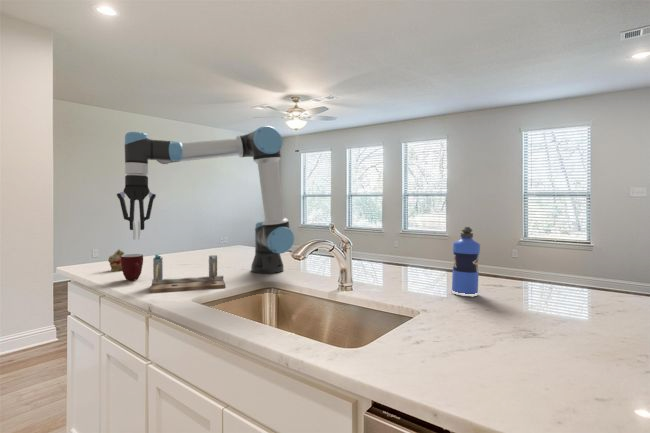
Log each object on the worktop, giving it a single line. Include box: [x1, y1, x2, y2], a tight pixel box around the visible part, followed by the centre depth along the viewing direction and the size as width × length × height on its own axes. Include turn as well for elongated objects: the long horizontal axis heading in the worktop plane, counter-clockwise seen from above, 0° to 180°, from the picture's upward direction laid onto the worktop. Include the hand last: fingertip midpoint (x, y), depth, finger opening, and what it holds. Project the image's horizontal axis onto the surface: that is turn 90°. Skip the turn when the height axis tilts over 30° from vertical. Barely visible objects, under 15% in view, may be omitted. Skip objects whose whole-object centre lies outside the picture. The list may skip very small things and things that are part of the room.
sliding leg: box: [152, 254, 164, 282], centre depth 135 cm, size 3×8×9 cm, turn 21°
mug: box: [121, 253, 144, 282], centre depth 147 cm, size 11×8×10 cm
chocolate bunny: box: [108, 248, 125, 272], centre depth 167 cm, size 6×8×10 cm
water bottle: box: [451, 226, 481, 294], centre depth 134 cm, size 9×9×25 cm
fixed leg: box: [208, 254, 218, 279], centre depth 143 cm, size 3×8×8 cm, turn 21°
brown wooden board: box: [149, 275, 226, 294], centre depth 139 cm, size 26×12×3 cm, turn 111°
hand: (137, 238), depth 135 cm, fingers closed
